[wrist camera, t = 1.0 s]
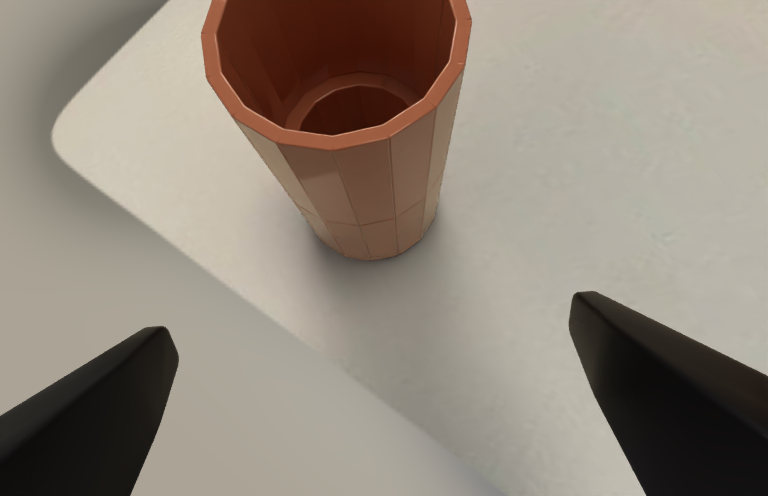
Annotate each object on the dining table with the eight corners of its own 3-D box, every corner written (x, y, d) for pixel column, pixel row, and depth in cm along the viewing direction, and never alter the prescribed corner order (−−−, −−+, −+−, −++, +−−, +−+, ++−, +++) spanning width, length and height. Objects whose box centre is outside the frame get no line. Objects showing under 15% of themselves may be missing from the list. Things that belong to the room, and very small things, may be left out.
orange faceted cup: (425, 272, 23) (449, 167, 10) (295, 250, 24) (167, 127, 11) (445, 150, 25) (485, -67, 12) (323, 133, 25) (240, -88, 13)
